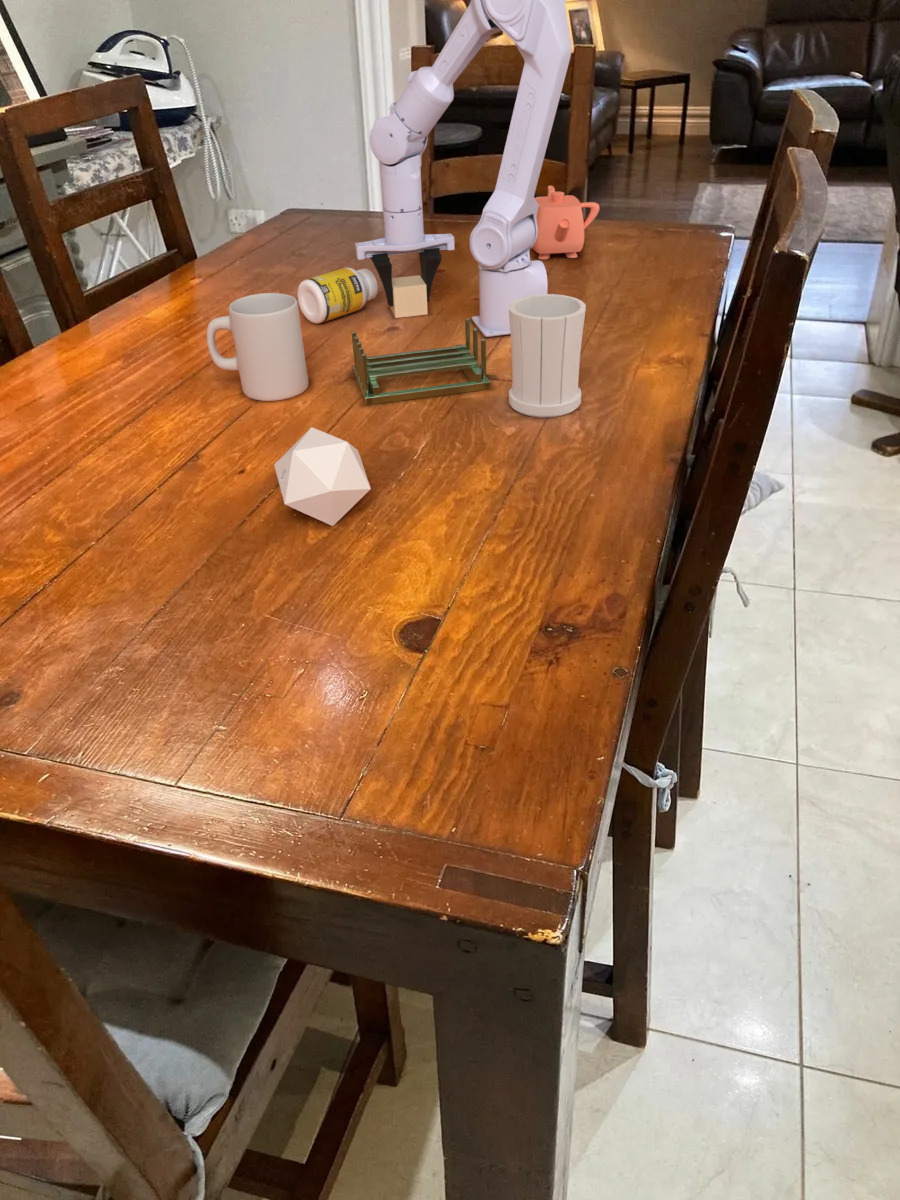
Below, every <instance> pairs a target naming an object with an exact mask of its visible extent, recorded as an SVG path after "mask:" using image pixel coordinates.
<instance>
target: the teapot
mask: <svg viewBox="0 0 900 1200" xmlns="http://www.w3.org/2000/svg"><path fill="white" fill-rule="evenodd" d="M534 198H535V200H536V201H537V203H538V205H539V208H538V212H537V226H538V236H537V240H536V242H535V244H534V245H533V247H532V248H531V249H532V250H533V251H534V252H535V253H537V254H538V256H537V260H548V259H550V258H551V254H565V257H566V258H568V259H575V258H578V253H580V252H581V251H582V250H583V247H584V244H585V230H586V229H587V228H588V227H589V226H590V224H591V223H592V222H593V221H594V220H595V219H596V218H597V216H598V215H599V212H600V204H599V203H597V202H594V201H586V202H581V201H580V200H579V198H577V197H576V196H575V195H570V194H566V195H565V192H563V191H556V190H555V187H554V186H553V185H548V186H547V196H536V197H534ZM584 208H585V209H586V208H587V209H590V210H589V211H590V212H589V214H588V215H587V218H586V219H585V221H584V214H583V209H584Z"/></svg>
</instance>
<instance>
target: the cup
mask: <svg viewBox="0 0 900 1200" xmlns="http://www.w3.org/2000/svg"><path fill="white" fill-rule="evenodd" d="M586 311H587V307H586V303H585V302H583V301H582V300H581V299H579V298H576V297H573V296H569V295H565V294H556V293H547V294H539V295H530V296H526V297H522V298H519V299H517V300H515V301H513V302H512V303H511V304H510V305H509V320H510V332H511V334H510V346H511V369H512V370H511V373H512V375H511V378H512V379H511V380H512V386H511V387H510V389H509V390H508V405H509V406H510V407H511V408H512V409H513V410H514V411H516V412H517V413H519V414H521V415H524V416H527V417H533V418H541V419H542V418H543V419H544V418H547V419H548V418H549V419H550V418H557V417H562V416H565V415H569V414H571V413H573V412H574V411H575V410H577V409H578V408H579V407H580V405H581V403H582V389H581V388H580V387H579V377H580V365H581V364H580V363H581V352H582V342H583V335H584V325H585V319H586Z"/></svg>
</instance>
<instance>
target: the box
mask: <svg viewBox="0 0 900 1200" xmlns="http://www.w3.org/2000/svg"><path fill="white" fill-rule="evenodd" d="M392 289H393V306H391V307H390V306H389V309H390V310H391V312H392V315H393V316H394V319H398V318H399V319H400V318H408V317H409V318H410V317H417V316H427V315H429V313H428V310H429V309H428V302H427V290H426V284H425V282H424V281H423V279H422V278H421V275H419V274H418V275H409V276H399V277H392Z"/></svg>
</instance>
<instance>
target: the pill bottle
mask: <svg viewBox="0 0 900 1200" xmlns="http://www.w3.org/2000/svg"><path fill="white" fill-rule="evenodd" d="M378 291H379V287H378V281H377V278H376V276H375V275H374V273H373V272H372V271H371V270H370V269H368V268H361V269H360V268H359V269H357V270H356V269H354V268H352V267H343V268H339V269H335V270H333V271H329V272H326V273H322V274H319V275H316V276H312V277H310V278H307V279H304V280H302V281H301V282H300V284H299V286H298V288H297V303H298V307H299V308H300V311H301V313H302V315H303V316H304V317H305V319H307V320H308V321H309V322H310V323H312V324H319V325H320V324H323V323H326V322H329V321H331V320H332V321H333V320H334V319H337V318H340V317H344V316H346V315H349V314H352V313H355V312H359V311H360V310H361V309H363V307H364V306H365V304H366V302H369V301H371V300H374V299H375V298H376V297H377V296H378Z"/></svg>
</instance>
